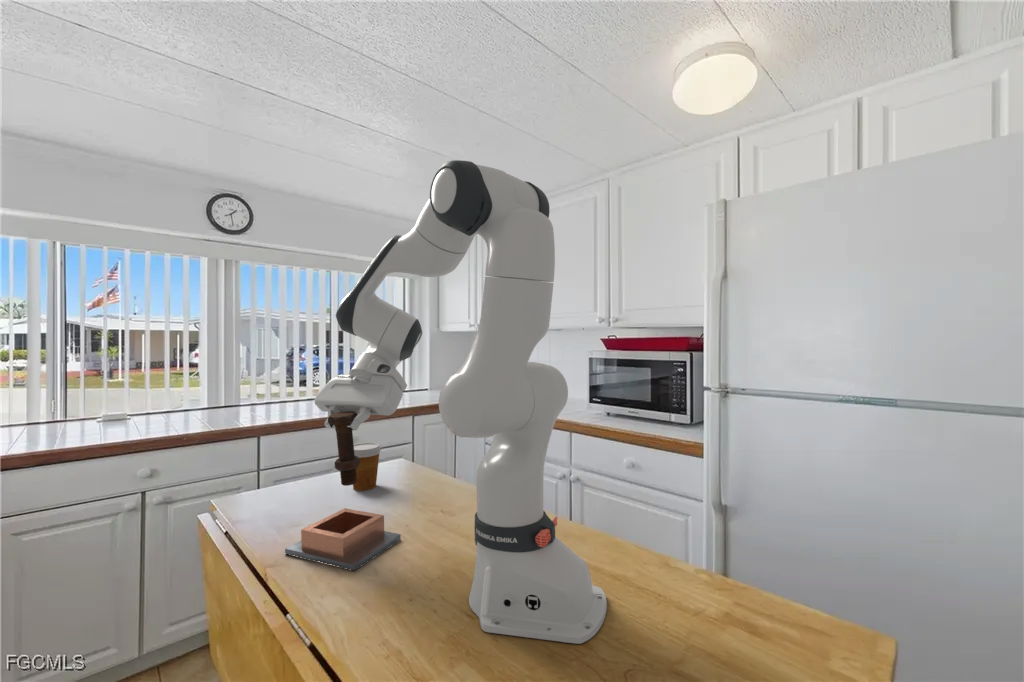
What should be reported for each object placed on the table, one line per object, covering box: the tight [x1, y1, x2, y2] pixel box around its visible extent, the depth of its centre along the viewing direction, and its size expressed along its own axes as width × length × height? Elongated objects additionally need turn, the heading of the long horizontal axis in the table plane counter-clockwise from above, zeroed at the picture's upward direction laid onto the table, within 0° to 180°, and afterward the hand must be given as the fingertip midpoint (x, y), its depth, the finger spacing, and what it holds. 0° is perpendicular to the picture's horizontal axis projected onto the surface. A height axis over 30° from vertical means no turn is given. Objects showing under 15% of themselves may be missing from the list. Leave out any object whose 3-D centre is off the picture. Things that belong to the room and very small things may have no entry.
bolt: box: [327, 411, 360, 487], centre depth 95 cm, size 6×5×15 cm
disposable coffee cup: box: [352, 442, 382, 492], centre depth 132 cm, size 10×10×12 cm
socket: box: [284, 508, 402, 571], centre depth 95 cm, size 18×14×5 cm
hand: (339, 427), depth 94 cm, fingers closed on bolt, 5 cm apart
